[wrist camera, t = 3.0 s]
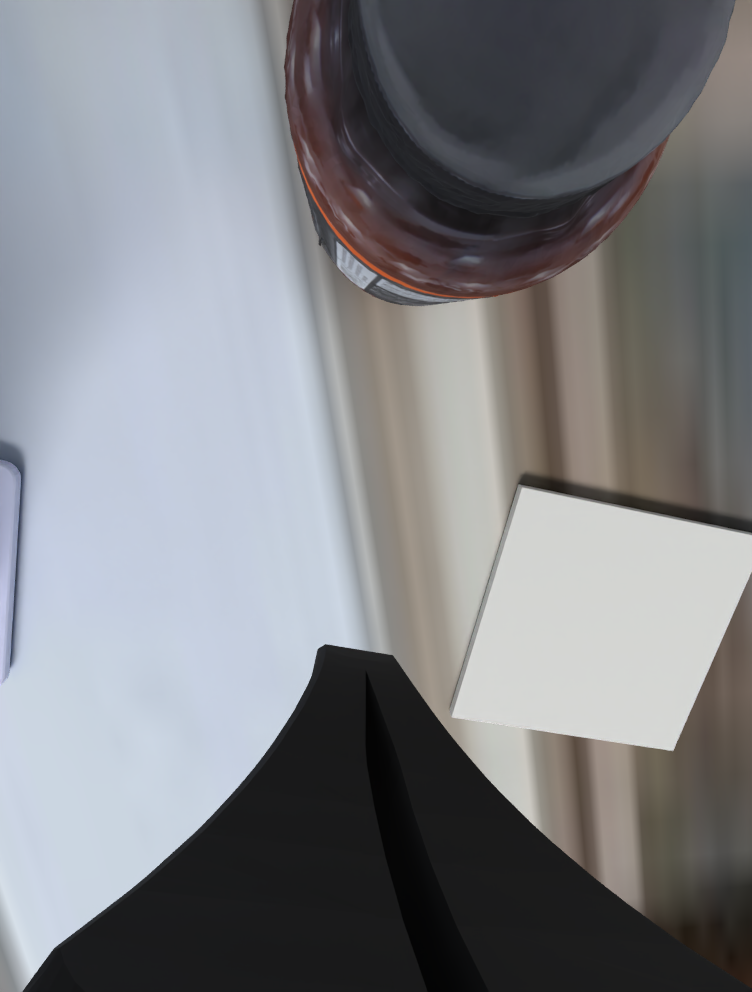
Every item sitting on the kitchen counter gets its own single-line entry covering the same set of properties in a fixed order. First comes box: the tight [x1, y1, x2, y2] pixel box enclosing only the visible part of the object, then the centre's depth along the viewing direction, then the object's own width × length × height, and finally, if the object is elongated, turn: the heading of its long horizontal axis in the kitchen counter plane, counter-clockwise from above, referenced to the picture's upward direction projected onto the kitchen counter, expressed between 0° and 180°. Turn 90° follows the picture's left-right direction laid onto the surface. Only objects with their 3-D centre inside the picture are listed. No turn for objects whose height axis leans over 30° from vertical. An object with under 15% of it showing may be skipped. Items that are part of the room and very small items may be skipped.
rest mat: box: [450, 484, 752, 751], centre depth 21 cm, size 9×9×1 cm
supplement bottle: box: [284, 0, 735, 306], centre depth 11 cm, size 6×6×11 cm
